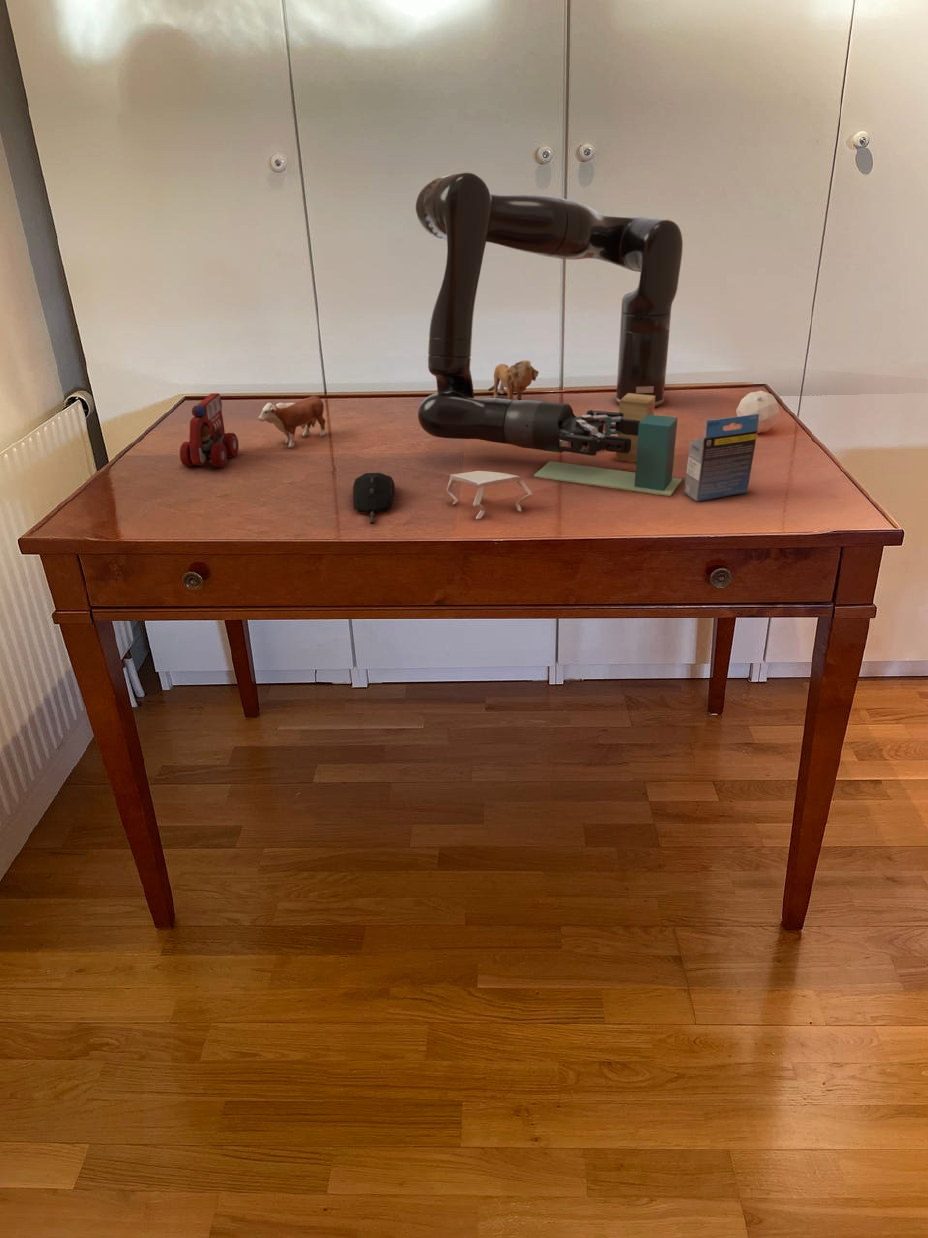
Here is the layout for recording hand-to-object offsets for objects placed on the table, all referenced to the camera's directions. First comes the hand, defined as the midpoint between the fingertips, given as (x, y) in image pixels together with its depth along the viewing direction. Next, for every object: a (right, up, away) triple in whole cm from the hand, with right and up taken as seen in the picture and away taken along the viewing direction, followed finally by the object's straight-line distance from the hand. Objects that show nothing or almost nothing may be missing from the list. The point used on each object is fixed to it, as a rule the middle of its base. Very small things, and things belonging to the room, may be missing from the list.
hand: (638, 437), depth 134 cm
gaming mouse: (-40, -10, -1) cm, 41 cm away
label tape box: (+11, -9, -1) cm, 14 cm away
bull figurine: (-56, +4, +26) cm, 62 cm away
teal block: (+3, -7, +2) cm, 8 cm away
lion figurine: (-17, +16, +44) cm, 50 cm away
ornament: (+25, +6, +24) cm, 35 cm away
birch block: (+2, -1, +14) cm, 14 cm away
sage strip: (-4, -5, +5) cm, 9 cm away
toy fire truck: (-70, -1, +18) cm, 72 cm away
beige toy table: (-23, -12, -4) cm, 26 cm away
